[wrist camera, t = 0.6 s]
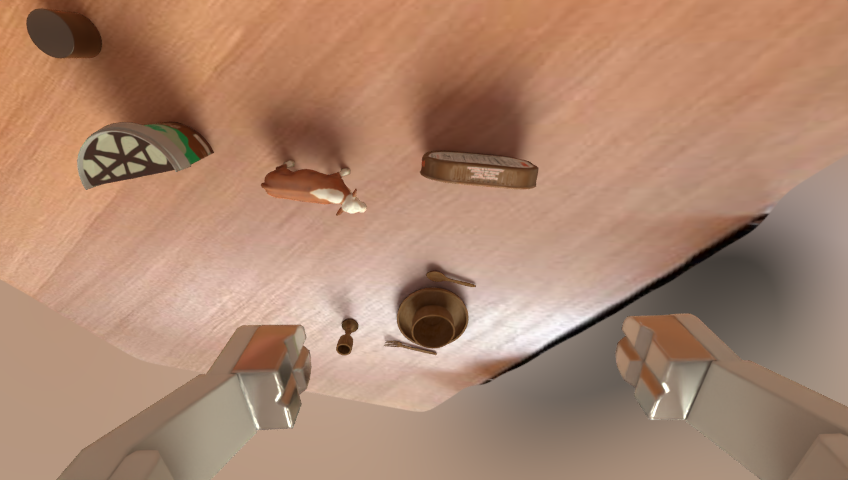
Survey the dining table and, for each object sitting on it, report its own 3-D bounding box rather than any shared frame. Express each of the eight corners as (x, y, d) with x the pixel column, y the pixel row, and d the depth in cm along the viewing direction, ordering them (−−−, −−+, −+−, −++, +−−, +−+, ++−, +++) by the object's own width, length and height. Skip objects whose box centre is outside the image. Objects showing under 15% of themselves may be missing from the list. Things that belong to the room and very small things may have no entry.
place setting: (446, 359, 68) (448, 384, 62) (339, 331, 65) (332, 356, 59) (484, 282, 60) (490, 304, 55) (365, 247, 57) (359, 267, 52)
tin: (420, 166, 52) (419, 185, 44) (422, 143, 50) (422, 159, 43) (525, 176, 52) (543, 196, 45) (530, 154, 51) (549, 171, 43)
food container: (203, 103, 48) (153, 114, 39) (223, 150, 50) (181, 171, 41) (116, 122, 49) (47, 137, 40) (140, 167, 51) (81, 190, 42)
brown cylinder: (50, 12, 43) (17, 8, 40) (91, 11, 43) (62, 8, 40) (69, 58, 45) (39, 58, 42) (108, 57, 45) (81, 58, 42)
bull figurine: (370, 201, 54) (362, 224, 47) (276, 181, 52) (253, 202, 45) (375, 173, 52) (367, 192, 45) (278, 151, 51) (254, 167, 43)
